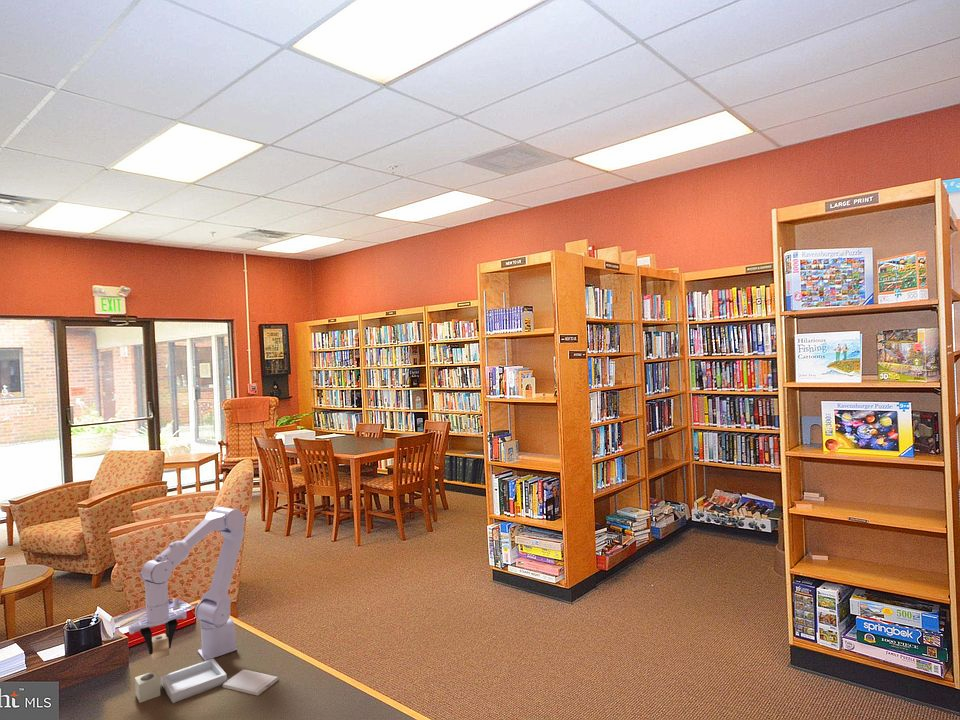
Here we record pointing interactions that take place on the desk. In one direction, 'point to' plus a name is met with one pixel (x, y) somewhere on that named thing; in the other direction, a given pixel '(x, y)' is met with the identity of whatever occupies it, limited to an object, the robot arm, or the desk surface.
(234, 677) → the white flat slab
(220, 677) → the tray
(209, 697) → the desk surface
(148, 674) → the oversize block
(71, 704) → the desk surface
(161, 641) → the block
